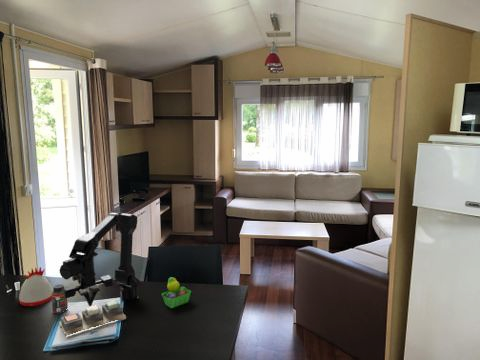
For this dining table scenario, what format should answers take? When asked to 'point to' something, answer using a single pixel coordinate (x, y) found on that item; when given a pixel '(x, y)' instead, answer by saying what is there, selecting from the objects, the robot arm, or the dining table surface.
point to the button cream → (92, 310)
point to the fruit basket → (175, 294)
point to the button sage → (111, 304)
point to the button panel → (92, 319)
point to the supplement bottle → (58, 300)
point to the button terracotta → (71, 318)
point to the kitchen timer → (35, 289)
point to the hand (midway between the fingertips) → (90, 305)
